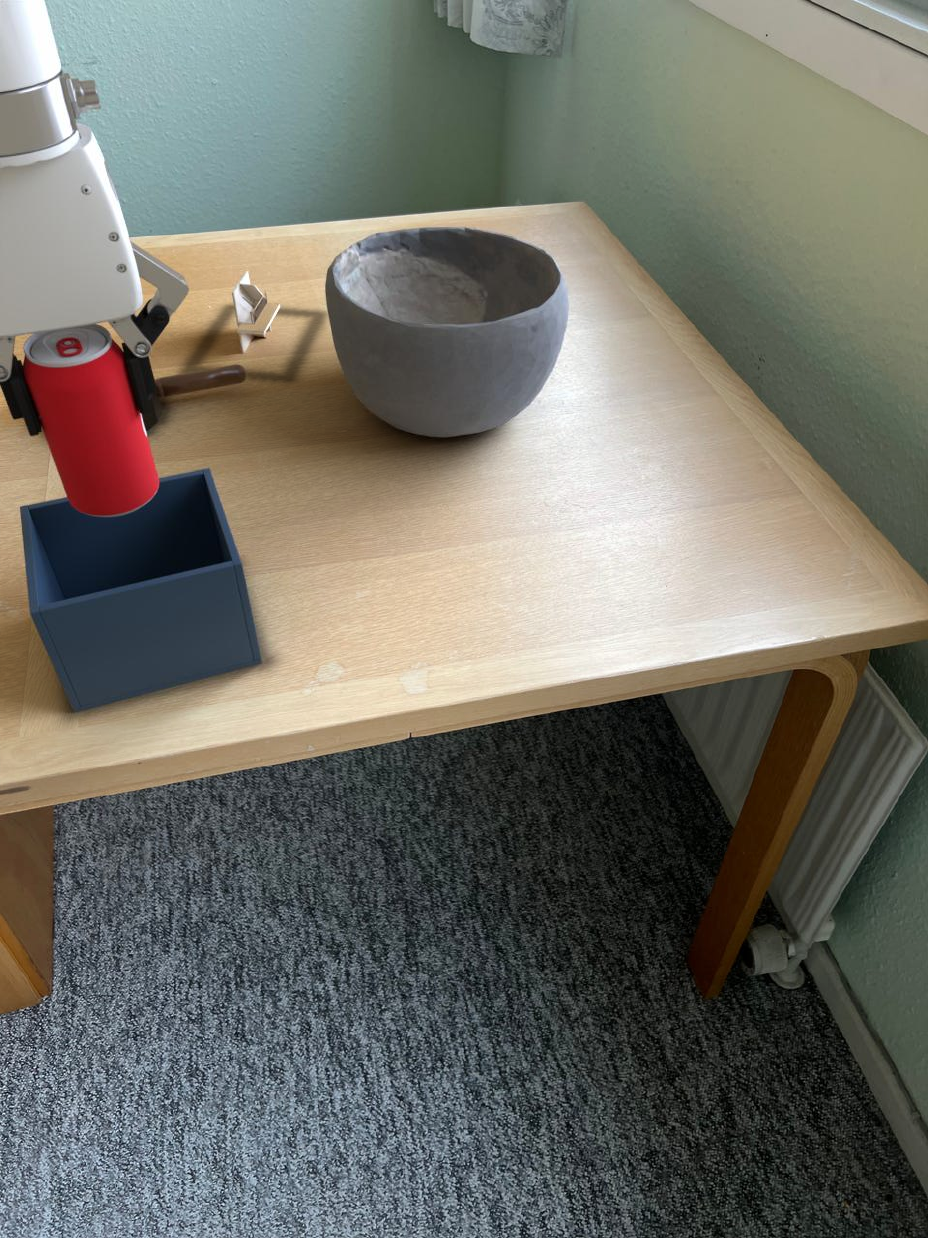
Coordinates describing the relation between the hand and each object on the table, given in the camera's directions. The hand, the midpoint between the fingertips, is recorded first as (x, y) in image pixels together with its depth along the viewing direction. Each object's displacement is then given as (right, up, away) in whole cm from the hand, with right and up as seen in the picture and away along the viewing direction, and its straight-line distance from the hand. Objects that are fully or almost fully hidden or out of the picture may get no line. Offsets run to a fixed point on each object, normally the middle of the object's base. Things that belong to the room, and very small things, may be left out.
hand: (89, 411), depth 60 cm
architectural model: (0, +19, +48) cm, 52 cm away
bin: (0, -15, +14) cm, 21 cm away
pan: (-8, +9, +38) cm, 40 cm away
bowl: (+23, +9, +39) cm, 46 cm away
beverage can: (0, -5, +5) cm, 7 cm away
